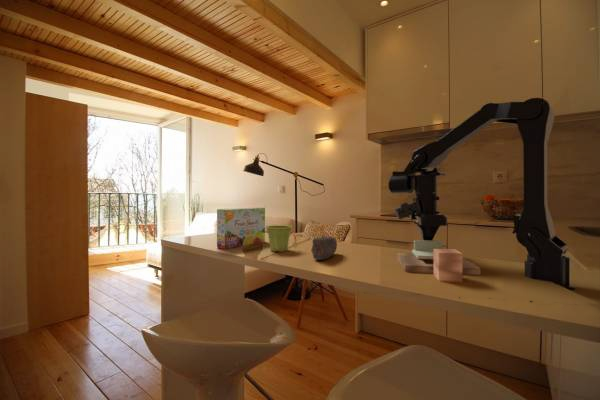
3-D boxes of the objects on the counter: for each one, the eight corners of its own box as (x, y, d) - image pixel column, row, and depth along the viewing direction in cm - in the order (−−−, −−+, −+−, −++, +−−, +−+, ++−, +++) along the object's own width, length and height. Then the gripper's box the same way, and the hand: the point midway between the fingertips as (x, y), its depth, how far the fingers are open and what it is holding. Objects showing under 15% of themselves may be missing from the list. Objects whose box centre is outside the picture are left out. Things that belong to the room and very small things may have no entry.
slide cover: (442, 253, 78) (442, 240, 78) (451, 259, 70) (451, 245, 70) (412, 252, 80) (412, 239, 80) (417, 258, 72) (417, 244, 72)
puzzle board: (458, 265, 77) (458, 254, 77) (480, 281, 63) (480, 268, 63) (397, 263, 80) (397, 253, 80) (405, 277, 67) (405, 265, 67)
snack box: (225, 249, 105) (225, 209, 104) (216, 248, 108) (215, 208, 108) (266, 241, 121) (265, 206, 121) (256, 240, 125) (256, 206, 125)
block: (455, 280, 63) (455, 249, 63) (462, 287, 58) (462, 253, 58) (433, 279, 64) (433, 248, 64) (438, 285, 59) (438, 252, 59)
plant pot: (282, 246, 109) (281, 224, 109) (297, 250, 102) (297, 226, 101) (261, 250, 103) (260, 226, 103) (276, 254, 96) (275, 228, 95)
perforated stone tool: (328, 252, 97) (328, 232, 97) (342, 254, 95) (342, 233, 95) (307, 261, 85) (306, 238, 84) (322, 263, 82) (322, 239, 82)
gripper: (392, 193, 91) (393, 241, 91) (400, 193, 73) (401, 253, 73) (429, 193, 89) (430, 242, 89) (447, 192, 70) (448, 255, 71)
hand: (426, 247), depth 80 cm, fingers closed
